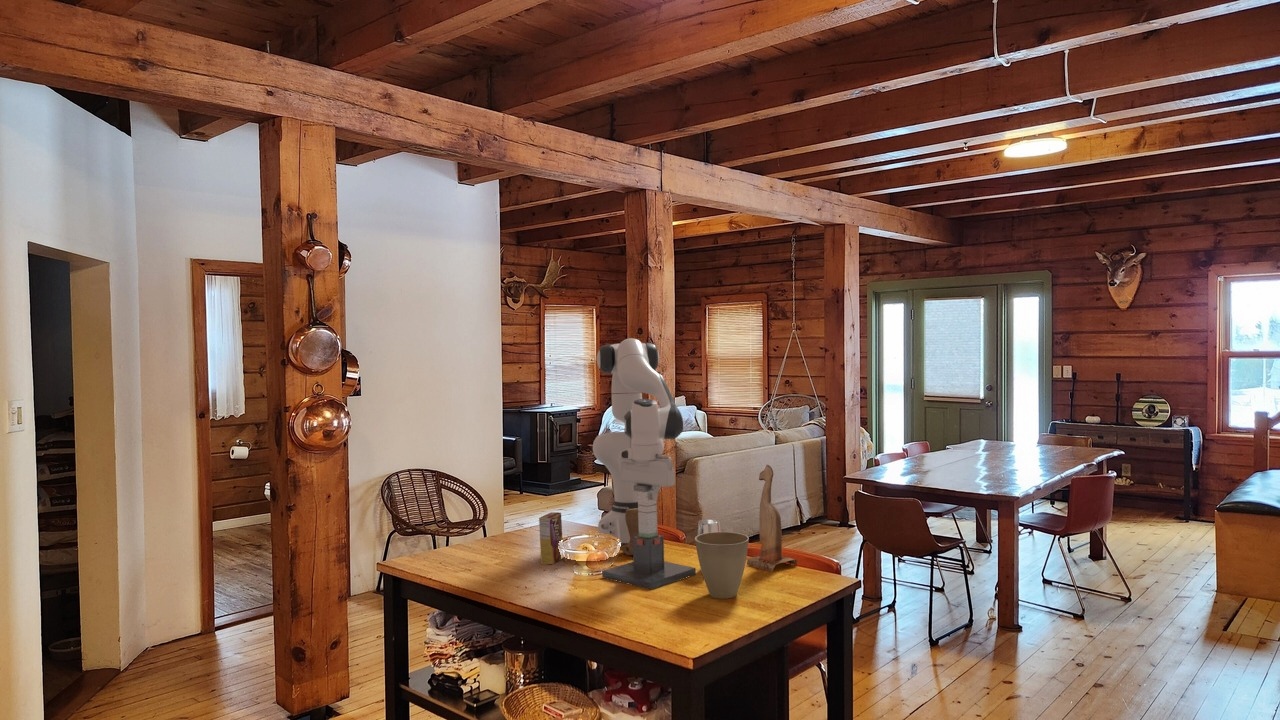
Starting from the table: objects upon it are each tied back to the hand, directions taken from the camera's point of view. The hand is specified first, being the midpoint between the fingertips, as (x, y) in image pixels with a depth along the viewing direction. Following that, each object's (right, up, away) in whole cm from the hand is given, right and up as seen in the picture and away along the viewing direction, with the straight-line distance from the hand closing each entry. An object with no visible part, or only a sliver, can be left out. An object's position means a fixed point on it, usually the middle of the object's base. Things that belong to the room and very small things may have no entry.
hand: (647, 498), depth 248 cm
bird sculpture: (+39, -23, +9) cm, 46 cm away
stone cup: (-2, -23, +31) cm, 39 cm away
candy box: (-31, -24, +21) cm, 45 cm away
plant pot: (+21, -23, -21) cm, 37 cm away
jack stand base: (+1, -23, 0) cm, 23 cm away
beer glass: (+19, -23, +6) cm, 31 cm away
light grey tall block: (0, -15, 0) cm, 15 cm away
